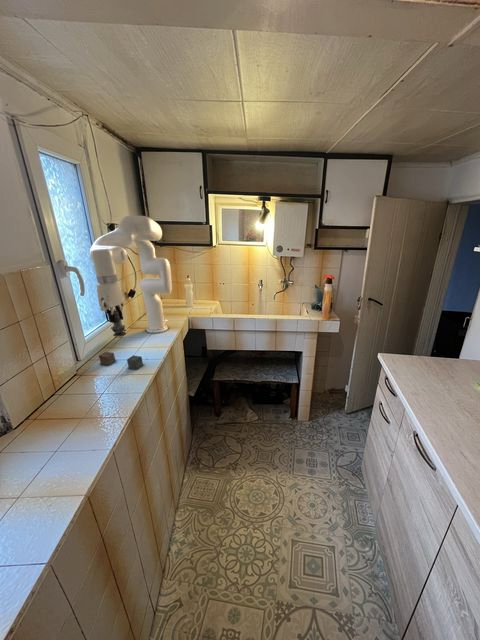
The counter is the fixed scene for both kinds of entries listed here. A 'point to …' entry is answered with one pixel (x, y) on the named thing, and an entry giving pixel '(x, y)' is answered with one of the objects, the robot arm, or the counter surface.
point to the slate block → (135, 362)
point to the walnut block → (107, 358)
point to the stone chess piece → (118, 326)
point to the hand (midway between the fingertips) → (116, 320)
